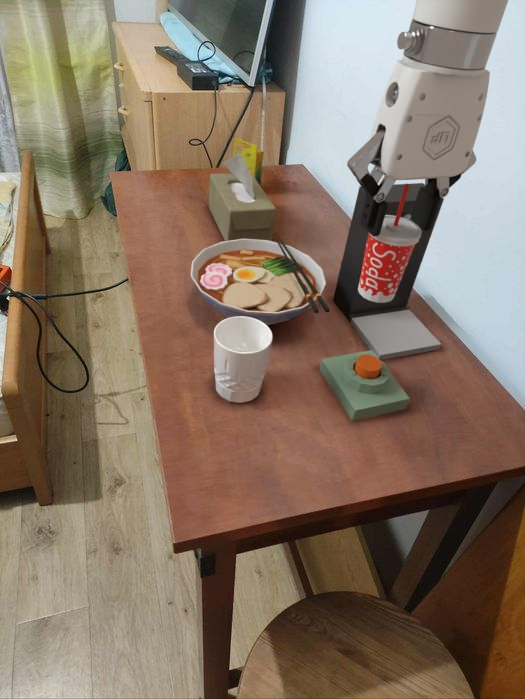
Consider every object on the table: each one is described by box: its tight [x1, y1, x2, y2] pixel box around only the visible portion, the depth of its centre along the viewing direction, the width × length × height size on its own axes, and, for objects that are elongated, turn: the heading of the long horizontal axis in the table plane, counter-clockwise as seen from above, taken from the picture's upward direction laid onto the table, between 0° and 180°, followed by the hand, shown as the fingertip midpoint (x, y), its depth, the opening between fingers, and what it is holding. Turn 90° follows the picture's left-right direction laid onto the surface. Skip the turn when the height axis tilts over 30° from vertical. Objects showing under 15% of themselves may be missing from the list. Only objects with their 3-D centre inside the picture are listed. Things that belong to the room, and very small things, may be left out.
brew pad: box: [318, 349, 410, 422], centre depth 76 cm, size 11×9×4 cm
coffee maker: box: [332, 182, 445, 361], centre depth 83 cm, size 17×12×22 cm
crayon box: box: [232, 137, 265, 187], centre depth 125 cm, size 7×3×12 cm, turn 52°
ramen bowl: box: [190, 232, 331, 326], centre depth 87 cm, size 25×23×8 cm
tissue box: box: [208, 153, 277, 242], centre depth 108 cm, size 19×10×16 cm, turn 17°
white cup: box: [213, 316, 274, 404], centre depth 71 cm, size 8×8×10 cm
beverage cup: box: [358, 183, 422, 303], centre depth 59 cm, size 6×6×14 cm
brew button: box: [355, 354, 382, 379], centre depth 74 cm, size 4×4×2 cm
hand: (395, 226), depth 58 cm, fingers closed on beverage cup, 6 cm apart
